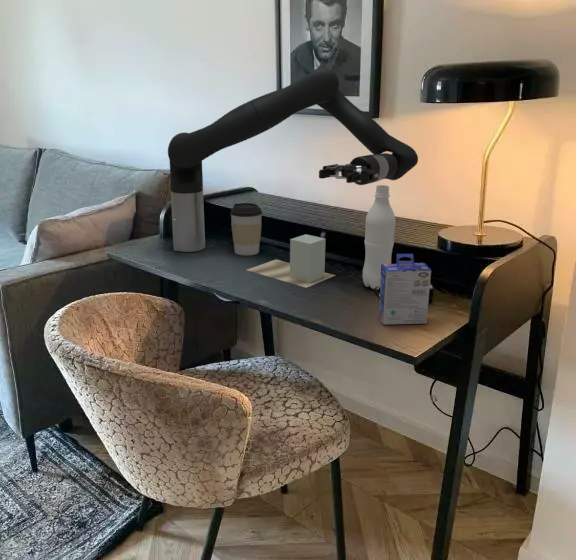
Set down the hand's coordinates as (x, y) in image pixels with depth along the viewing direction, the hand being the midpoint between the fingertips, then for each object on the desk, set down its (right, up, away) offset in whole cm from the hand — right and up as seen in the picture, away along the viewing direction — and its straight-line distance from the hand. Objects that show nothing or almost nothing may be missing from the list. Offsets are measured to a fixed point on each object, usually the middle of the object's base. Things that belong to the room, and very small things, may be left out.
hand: (333, 176), depth 152 cm
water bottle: (+11, -28, -1) cm, 30 cm away
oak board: (-11, -25, +5) cm, 28 cm away
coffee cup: (-23, -19, +22) cm, 37 cm away
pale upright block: (-7, -25, +1) cm, 26 cm away
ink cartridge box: (+13, -35, -21) cm, 43 cm away
